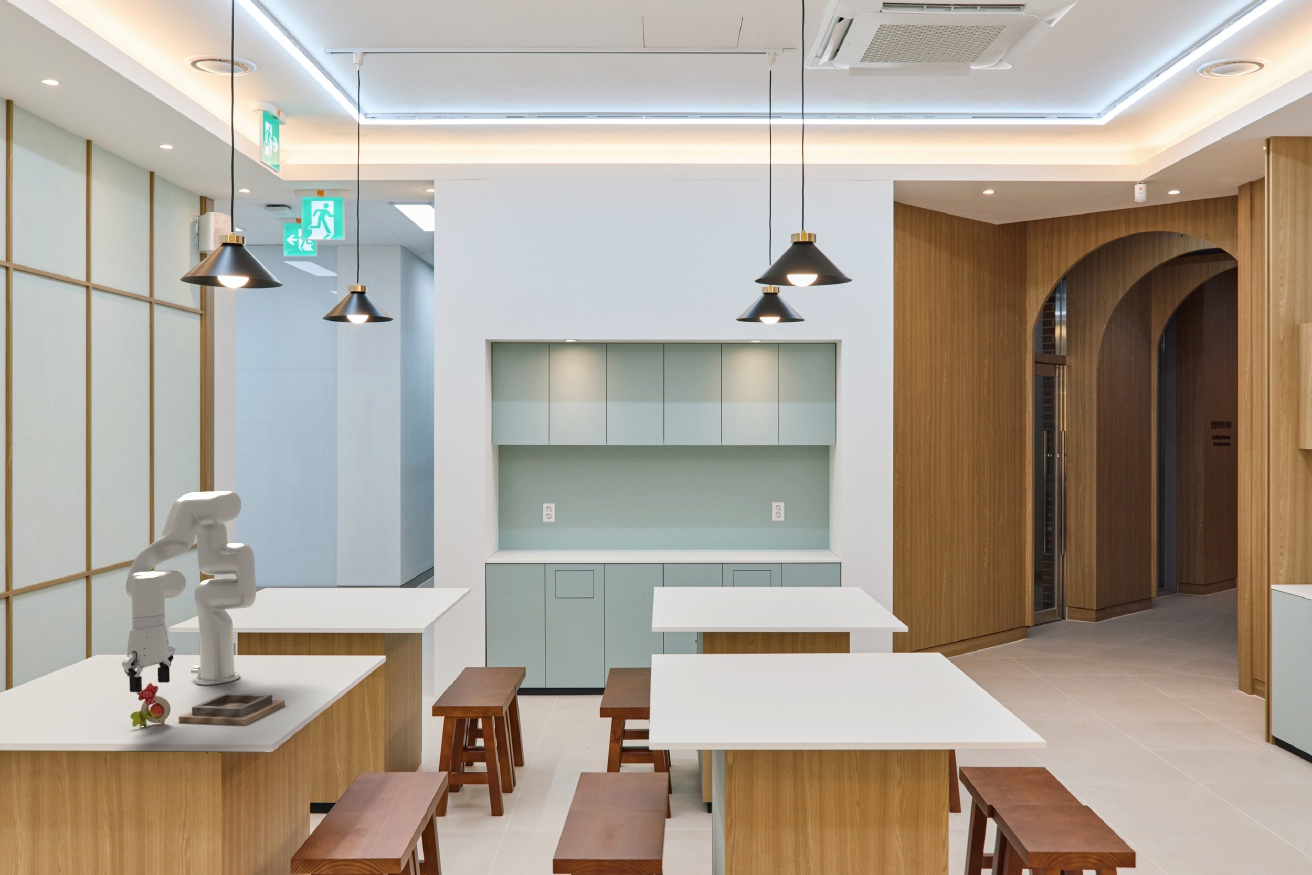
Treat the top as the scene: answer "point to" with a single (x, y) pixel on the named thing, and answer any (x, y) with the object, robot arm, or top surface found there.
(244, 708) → the wooden tray
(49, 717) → the top surface
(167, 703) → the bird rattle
